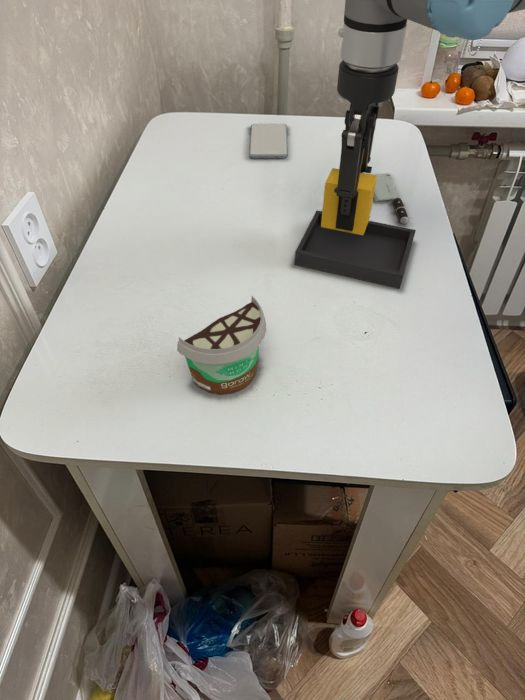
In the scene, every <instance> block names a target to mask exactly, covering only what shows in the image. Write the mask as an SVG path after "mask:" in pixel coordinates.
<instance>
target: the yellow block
mask: <svg viewBox="0 0 525 700" xmlns="http://www.w3.org/2000/svg"><path fill="white" fill-rule="evenodd" d="M376 175H377V174H372V173H364V172H363V173H360V177H359V182H358V188H357V190H358V199H357V206H356V213H355V220H354V227H353V230H352V231H348V230H343V229H338V228H335V227H336V219H337V210H338V201H339V196H337V195H336V194H337V193H334V189H335V188H336V187H337V186H338V177H339V168H335V167H332V168H331V170H330V172H329V174H328V176H327V177H326V180H325V182H324V190H323V191H324V192H323V202H322V210H321V211H322V220H321V227H323V228H328V229H333V230H338V231H343V232H348V233H353V234H358V235H364V232H365V230H366V227H367V224H368V222H369V221H370V218H371V211H372V207H373V200H374V197H373V196H374V190H375V185H376V179H377V176H376Z"/></svg>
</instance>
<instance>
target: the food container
mask: <svg viewBox="0 0 525 700" xmlns="http://www.w3.org/2000/svg"><path fill="white" fill-rule="evenodd" d="M265 317H266V316H265V313H264V311H263V309H262V306H261V304H259V301H258V300H257V299H256V298H255V296H253V295H251V299H250V302H249V303H247V304H246V305H244V306H242V307H241V308H239V309H237V310H235V311H233V312H231V313H228V314H226V315H224V316H221V317H219V318H218V319H216V320H215V321H213V322H212V323H210V324H209V325H207V326H206V327H205V328H203V329H202V330H200V331H198V332H196V333H194V334H193V335H191V336H190V337H188V338H186V339H185V340H184V339H182V337H180V336H179V337H178V341H177V345H176V346H177V347H176V351H177V352H178V353H179V354H180V355H182V356H184V359H185V361H186V364H187V366H188V368H189V369H188V370H189V372H190V375H191V378H192V380H193V383H194V385H196V387H198V388H199V389H201V390H202V391H205V392H206V393H209V394H213V395H218V396H219V395H220V396H222V395H232V394H235V393H238V392H240V391H243V390H244V389H246V388H247V387H248V386H249V385H250V384H251V383H252V382H253V380H254V379H255V377H256V375H257V370H258V362H259V361H258V360H259V352H260V345H261V344H262V342H263V340H264V338H265V336H266V332H267V321H266V318H265Z"/></svg>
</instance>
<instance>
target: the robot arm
mask: <svg viewBox="0 0 525 700" xmlns="http://www.w3.org/2000/svg"><path fill="white" fill-rule="evenodd" d="M344 1H345V2H344V11H343V12H344V13H343V14H344V15H343V25H342V26H343V27H342V28H339V29H338V31H337V36H338V37H339V38H342V41H341V46H340V47H341V48H340V58H341V61H340V63H339V65H338V75H337V86H336V91H337V93H338V95H339V96H340V97H341V98H342V99H343V100H346V101H348V102H349V103H350V105H349V109H347V110H346V111H345V116H344V125H345V128H344V129H343V130H342V132H341V148H340V149H341V150H340V159H339V168H338V169H339V177H338V186H337V187H336V188H335V189H334V193H337V194H336V195H337V196H339V201H338V210H337V219H336V227H335V228H338V229H343V230H348V231H352V230H353V227H354V220H355V213H356V206H357V199H358V190H357V188H358V182H359V177H360V173H365V174H372V169H373V166H370V165H368V164H369V163H371V155H372V147H373V143H374V135H375V130H376V125H377V120H378V117H379V115H380V108H381V107H380V104H381V103H385V102H387V101H388V100H390V99H391V98H392V97H393V96H394V94H395V92H396V86H397V81H398V80H397V79H398V75H399V69H400V68H399V64H398V63H399V62H400V61H401V60H402V55H403V49H404V43H405V38H406V33H407V26H408V21H411V22H413V23H416V24H419V25H421V26H424V27H427V28H429V29H432V30H434V31H437V32H439V34H441V35H445V36H446V37H449V38H457V39H462V40H468V41H478V40H482V39H484V38H486V37H487V36H489V35H490V34H491V33H492V31H493V29H494V28H496V27H499V26H500V25H501V24H502V22H504V20H505V18H506V17H507V16H508V14H511V13H515V12H520V11H524V10H525V0H344Z"/></svg>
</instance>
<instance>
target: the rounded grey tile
mask: <svg viewBox="0 0 525 700" xmlns="http://www.w3.org/2000/svg"><path fill="white" fill-rule="evenodd" d="M249 134H250V135H249V148H248V149H249V151H248V156H249V157H250V158H256V159H257V158H261V159H262V158H264V159H265V158H267V159H271V158H273V159H274V158H277V159H278V158H280V159H281V158H283V159H284V158H288V156H289V142H288V141H289V140H288V126H287V124H286V123H252V124H251V125H250V133H249Z"/></svg>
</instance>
